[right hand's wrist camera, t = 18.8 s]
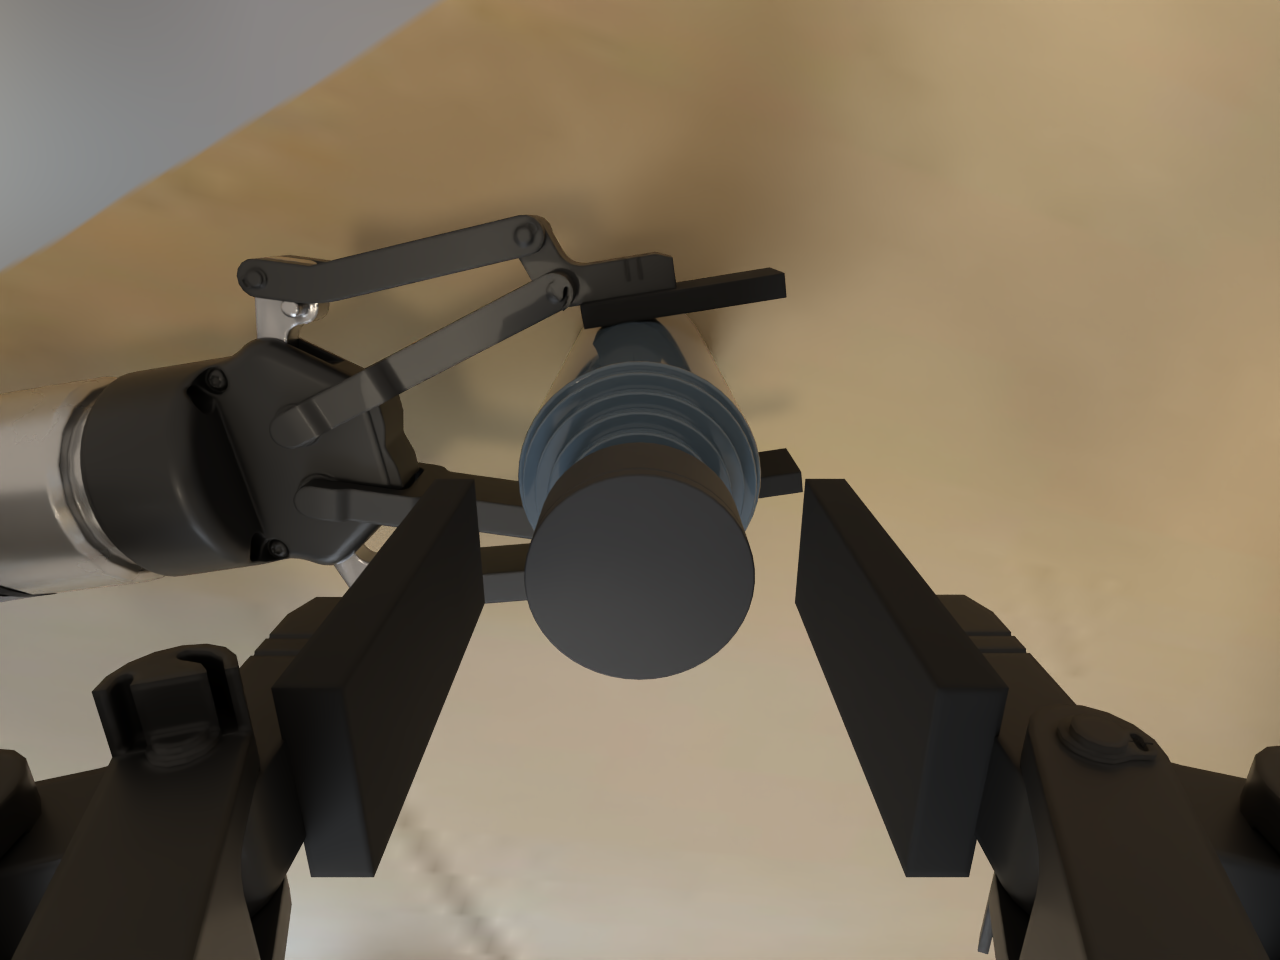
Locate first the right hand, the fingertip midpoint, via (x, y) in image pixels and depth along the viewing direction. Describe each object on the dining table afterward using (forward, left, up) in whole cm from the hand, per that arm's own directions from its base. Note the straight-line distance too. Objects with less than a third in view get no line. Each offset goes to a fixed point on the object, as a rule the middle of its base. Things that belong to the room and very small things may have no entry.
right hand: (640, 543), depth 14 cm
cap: (0, 0, +1) cm, 1 cm away
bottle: (0, 0, -18) cm, 18 cm away
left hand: (-5, -1, -12) cm, 13 cm away
